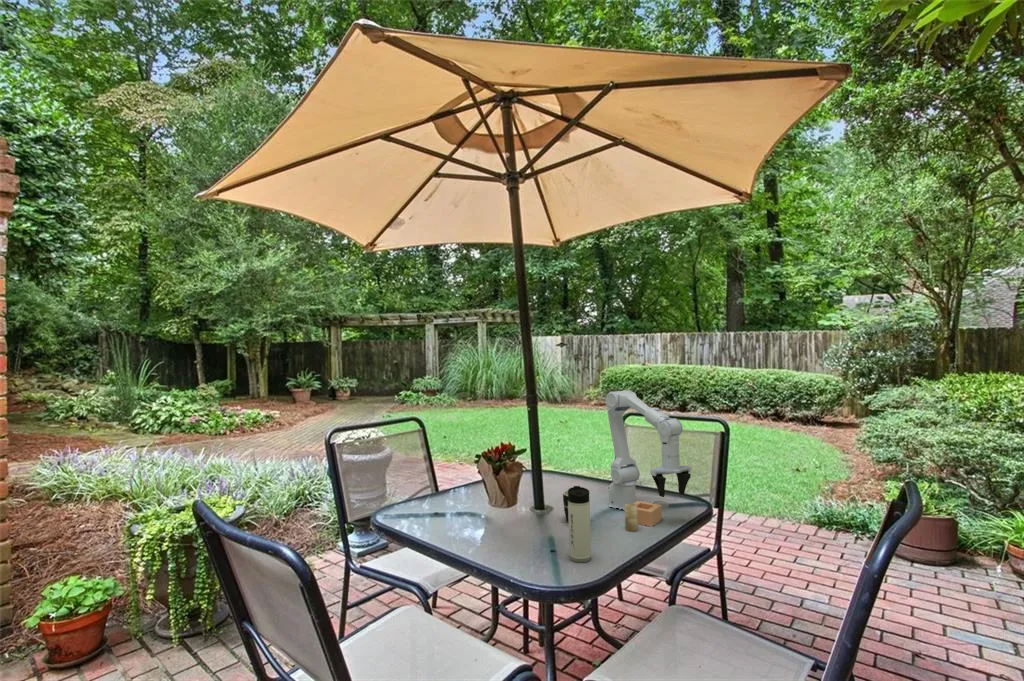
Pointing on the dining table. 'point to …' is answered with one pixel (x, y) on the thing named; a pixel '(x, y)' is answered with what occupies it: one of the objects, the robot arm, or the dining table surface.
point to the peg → (631, 518)
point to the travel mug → (579, 524)
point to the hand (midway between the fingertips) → (671, 495)
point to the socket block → (648, 513)
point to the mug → (566, 504)
